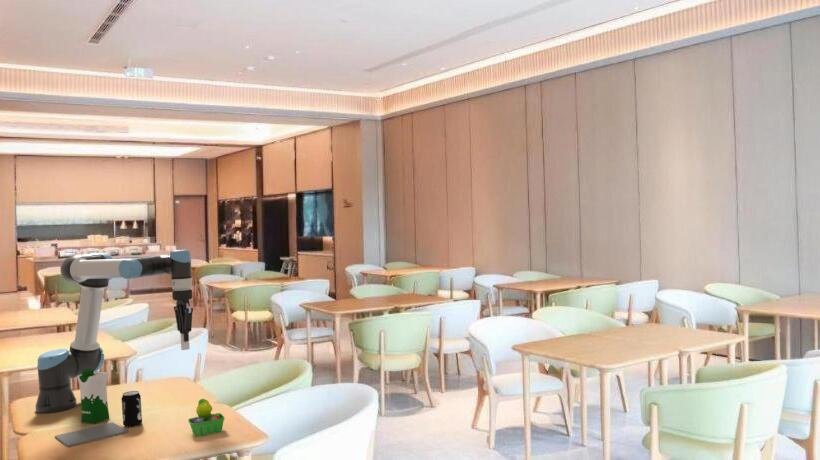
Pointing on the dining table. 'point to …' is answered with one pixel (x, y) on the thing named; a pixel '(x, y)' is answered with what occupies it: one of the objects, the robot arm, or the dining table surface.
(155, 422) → the dining table surface
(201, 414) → the fruit basket
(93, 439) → the mat
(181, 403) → the dining table surface
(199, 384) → the dining table surface
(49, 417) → the dining table surface
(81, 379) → the milk carton
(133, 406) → the beverage can
